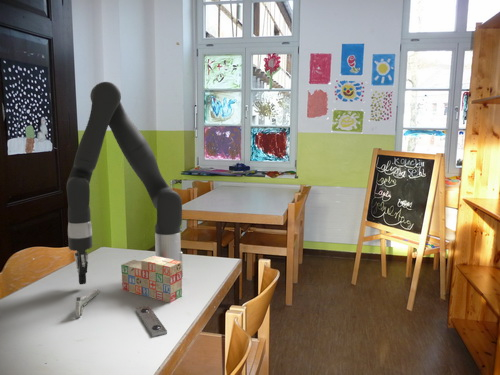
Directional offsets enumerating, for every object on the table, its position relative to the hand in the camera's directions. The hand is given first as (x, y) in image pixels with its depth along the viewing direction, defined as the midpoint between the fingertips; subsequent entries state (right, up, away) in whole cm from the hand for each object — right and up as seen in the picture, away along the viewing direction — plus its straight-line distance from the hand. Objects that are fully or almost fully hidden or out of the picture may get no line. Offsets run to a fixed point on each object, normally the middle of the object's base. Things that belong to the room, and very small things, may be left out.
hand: (82, 283), depth 141 cm
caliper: (+7, -4, -12) cm, 14 cm away
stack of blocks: (+24, -3, -2) cm, 25 cm away
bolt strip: (+29, -6, -23) cm, 38 cm away
